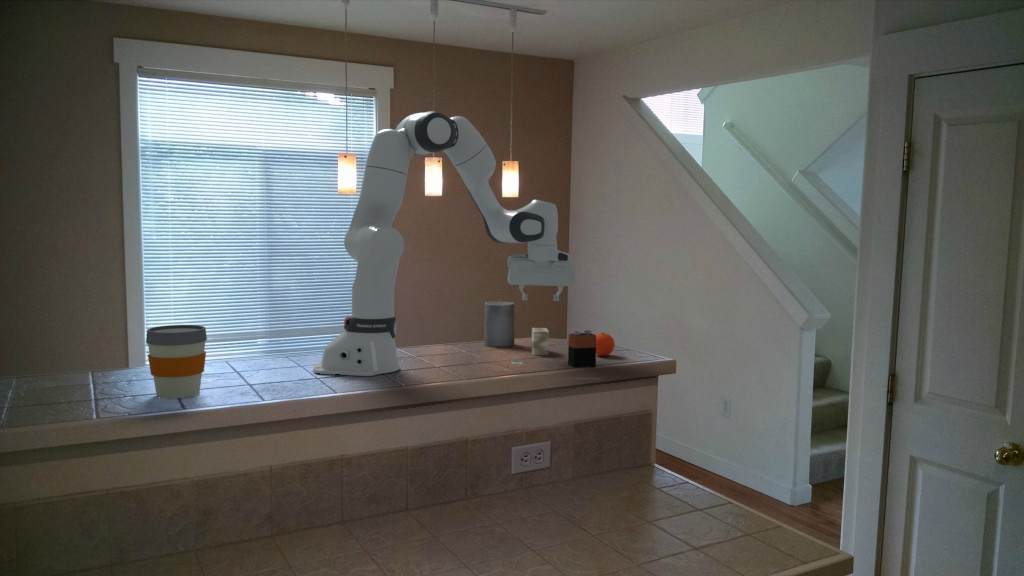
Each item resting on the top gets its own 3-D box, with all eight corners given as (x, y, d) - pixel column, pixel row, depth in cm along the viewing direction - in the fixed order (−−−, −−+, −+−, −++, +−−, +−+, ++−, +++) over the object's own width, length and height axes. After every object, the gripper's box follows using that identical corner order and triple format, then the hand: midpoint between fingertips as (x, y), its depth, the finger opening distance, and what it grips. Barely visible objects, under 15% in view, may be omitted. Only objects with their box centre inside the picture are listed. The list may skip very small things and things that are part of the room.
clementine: (596, 352, 234) (597, 329, 233) (618, 354, 231) (619, 331, 230) (587, 356, 227) (588, 333, 226) (610, 358, 224) (610, 334, 223)
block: (533, 354, 226) (533, 331, 225) (531, 350, 233) (531, 327, 233) (548, 355, 226) (548, 331, 225) (545, 350, 234) (546, 328, 233)
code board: (494, 367, 208) (494, 365, 208) (493, 358, 220) (493, 357, 220) (541, 367, 209) (541, 366, 209) (537, 359, 221) (537, 357, 221)
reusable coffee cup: (139, 393, 172) (137, 327, 170) (194, 385, 180) (193, 323, 179) (159, 403, 163) (158, 334, 161) (217, 394, 172) (216, 329, 170)
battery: (596, 367, 211) (597, 331, 210) (574, 368, 208) (575, 332, 207) (588, 364, 215) (589, 329, 214) (567, 365, 212) (568, 330, 211)
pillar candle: (501, 341, 251) (501, 296, 249) (520, 345, 244) (520, 299, 242) (478, 344, 245) (478, 298, 243) (497, 348, 237) (497, 301, 236)
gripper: (507, 254, 223) (506, 300, 224) (576, 256, 224) (575, 302, 226) (507, 253, 230) (505, 298, 231) (574, 255, 231) (572, 300, 232)
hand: (540, 300), depth 228 cm, fingers open, 8 cm apart
